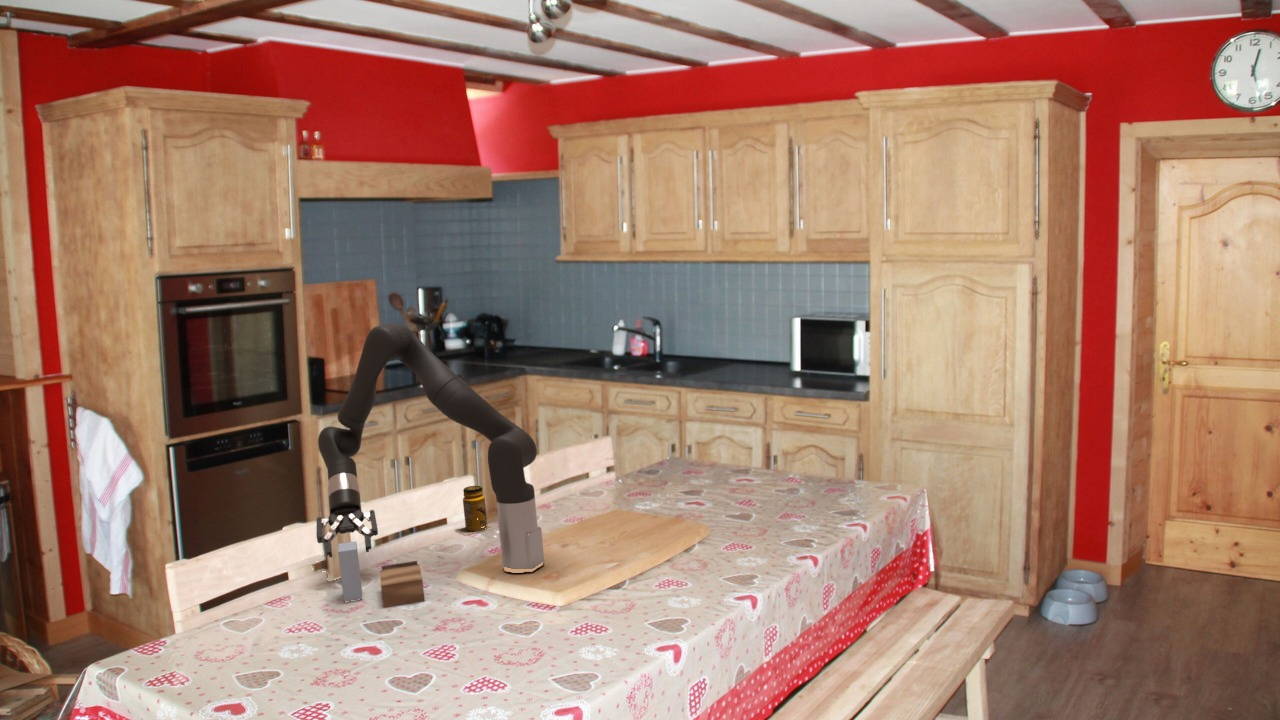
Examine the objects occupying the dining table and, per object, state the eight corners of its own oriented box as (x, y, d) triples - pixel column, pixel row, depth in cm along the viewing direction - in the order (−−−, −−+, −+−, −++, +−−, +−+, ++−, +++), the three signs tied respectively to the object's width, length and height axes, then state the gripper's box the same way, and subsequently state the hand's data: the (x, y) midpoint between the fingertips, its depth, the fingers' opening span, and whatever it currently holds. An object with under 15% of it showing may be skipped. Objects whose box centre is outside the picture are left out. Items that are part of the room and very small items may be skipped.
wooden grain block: (381, 580, 251) (378, 557, 250) (419, 575, 253) (416, 551, 253) (383, 607, 232) (380, 582, 231) (424, 600, 234) (421, 575, 234)
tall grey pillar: (344, 593, 244) (338, 543, 243) (362, 590, 245) (356, 541, 244) (344, 603, 237) (338, 551, 236) (362, 600, 238) (356, 549, 237)
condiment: (493, 529, 290) (489, 487, 289) (465, 535, 285) (460, 493, 284) (482, 524, 296) (477, 483, 295) (454, 530, 291) (450, 489, 290)
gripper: (312, 491, 254) (316, 549, 245) (372, 483, 258) (378, 540, 248) (315, 507, 260) (319, 565, 250) (374, 499, 264) (380, 556, 254)
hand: (349, 553), depth 249 cm, fingers open, 8 cm apart
